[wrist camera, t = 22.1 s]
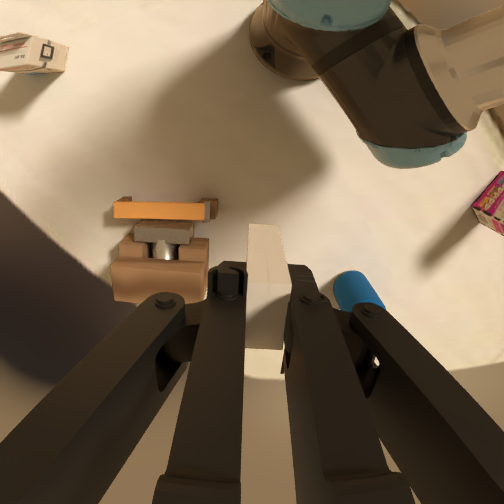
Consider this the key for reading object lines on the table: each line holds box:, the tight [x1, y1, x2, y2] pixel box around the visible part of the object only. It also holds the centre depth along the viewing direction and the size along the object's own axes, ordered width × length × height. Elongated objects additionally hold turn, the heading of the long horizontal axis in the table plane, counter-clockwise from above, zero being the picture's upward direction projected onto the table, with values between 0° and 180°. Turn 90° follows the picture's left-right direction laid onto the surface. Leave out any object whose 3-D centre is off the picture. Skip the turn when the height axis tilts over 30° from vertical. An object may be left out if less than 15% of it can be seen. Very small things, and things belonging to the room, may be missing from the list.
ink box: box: [0, 32, 69, 74], centre depth 34 cm, size 9×5×15 cm, turn 80°
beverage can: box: [333, 271, 386, 312], centre depth 51 cm, size 6×6×12 cm
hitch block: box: [110, 197, 218, 304], centre depth 49 cm, size 15×16×9 cm
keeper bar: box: [113, 201, 210, 222], centre depth 47 cm, size 3×15×1 cm, turn 86°
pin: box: [134, 220, 194, 260], centre depth 53 cm, size 18×9×4 cm, turn 176°
